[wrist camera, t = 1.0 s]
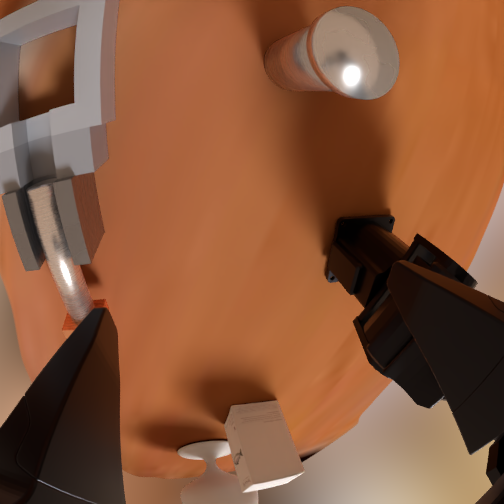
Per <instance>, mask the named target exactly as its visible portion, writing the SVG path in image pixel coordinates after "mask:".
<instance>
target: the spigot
mask: <svg viewBox="0 0 504 504" xmlns="http://www.w3.org/2000/svg"><path fill="white" fill-rule="evenodd" d="M264 66H265V70H266V73H267V75H268V77H269V78H270V79H271V81H272V82H273V83H274V84H276V85H277V86H279V87H280V88H282V89H285V90H288V91H334V92H336V93H337V94H339V95H342V96H344V97H348V98H355V99H364V100H371V99H376V98H379V97H381V96H383V95H385V94H386V93H387V92H388V91H389V90H390V89H391V88H392V87H393V85H394V83H395V81H396V79H397V76H398V72H399V53H398V49H397V46H396V43H395V41H394V39H393V37H392V35H391V33H390V32H389V30H388V29H387V27H386V26H385V25H384V24H383V23H382V22H381V21H380V20H379V19H378V18H377V17H375V16H374V15H373V14H371V13H369V12H367V11H365V10H363V9H360V8H357V7H351V6H344V7H338V8H335V9H332V10H330V11H328V12H325V13H323V14H321V15H320V16H319V17H317V18H316V19H315V20H314V21H313V23H312V24H311V25H310V26H308V27H305V28H303V29H301V30H299V31H296V32H294V33H292V34H290V35H288V36H286V37H284V38H282V39H280V40H278V41H276V42H275V43H273V44H272V45H271V46H270V47H269V48H268V50H267V52H266V54H265V58H264Z"/></svg>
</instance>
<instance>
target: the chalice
mask: <svg viewBox="0 0 504 504" xmlns="http://www.w3.org/2000/svg"><path fill="white" fill-rule="evenodd" d="M177 453H178V455H180V456H182V457H184V458H188V459H196V460H202V459H203V460H205V462H206V464H207V468H206V470H205V472H204V473H203V474H202V475H201V476H200V477H199V478H197V479H196V480H194V481H192V482H191V483H189V484H188V485H186V486H185V487H184V488H183V490H182V491H181V500H182V503H183V504H258V491H257V490H256V491H251V492H244V493H242V490H241V486H240V483H239V480H238V476H237V475H233V474H229V473H227V472H224V471H222V470H221V469H220V468H218V466H217V465H216V458H218V457H222V456H226V455H228V454H231V451H230V447H229V443H228V441H206V442H199V443H194V444H190V445H187V446H184V447H182V448H180V449H179V450H178V452H177Z"/></svg>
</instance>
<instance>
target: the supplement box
mask: <svg viewBox="0 0 504 504" xmlns="http://www.w3.org/2000/svg"><path fill="white" fill-rule="evenodd" d="M224 427H225V431H226V435H227V439H228V443H229V447H230V451H231V455H232V459H233V462H234V466H235V469H236V473H237V476H238V480H239V483H240V486H241V490H242V493H244V492H251V491H256V490H261V489H265V488H270V487H274V486H278V485H282V484H285V483H288V482H289V481H291V480H293V479H294V478H296V477H298V476H299V475H301V474H302V473H304V472H305V470H304V468H303V465H302V463H301V460H300V458H299V455H298V453H297V450H296V447H295V445H294V442H293V440H292V437H291V434H290V432H289V429H288V427H287V424H286V422H285V419H284V416H283V413H282V411H281V408H280V406H279V403H278V400H275V401H267V402H258V403H250V404H241V405H232V406H231V408H230V412H229V415H228V417H227V420H226V422H225V425H224Z"/></svg>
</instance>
